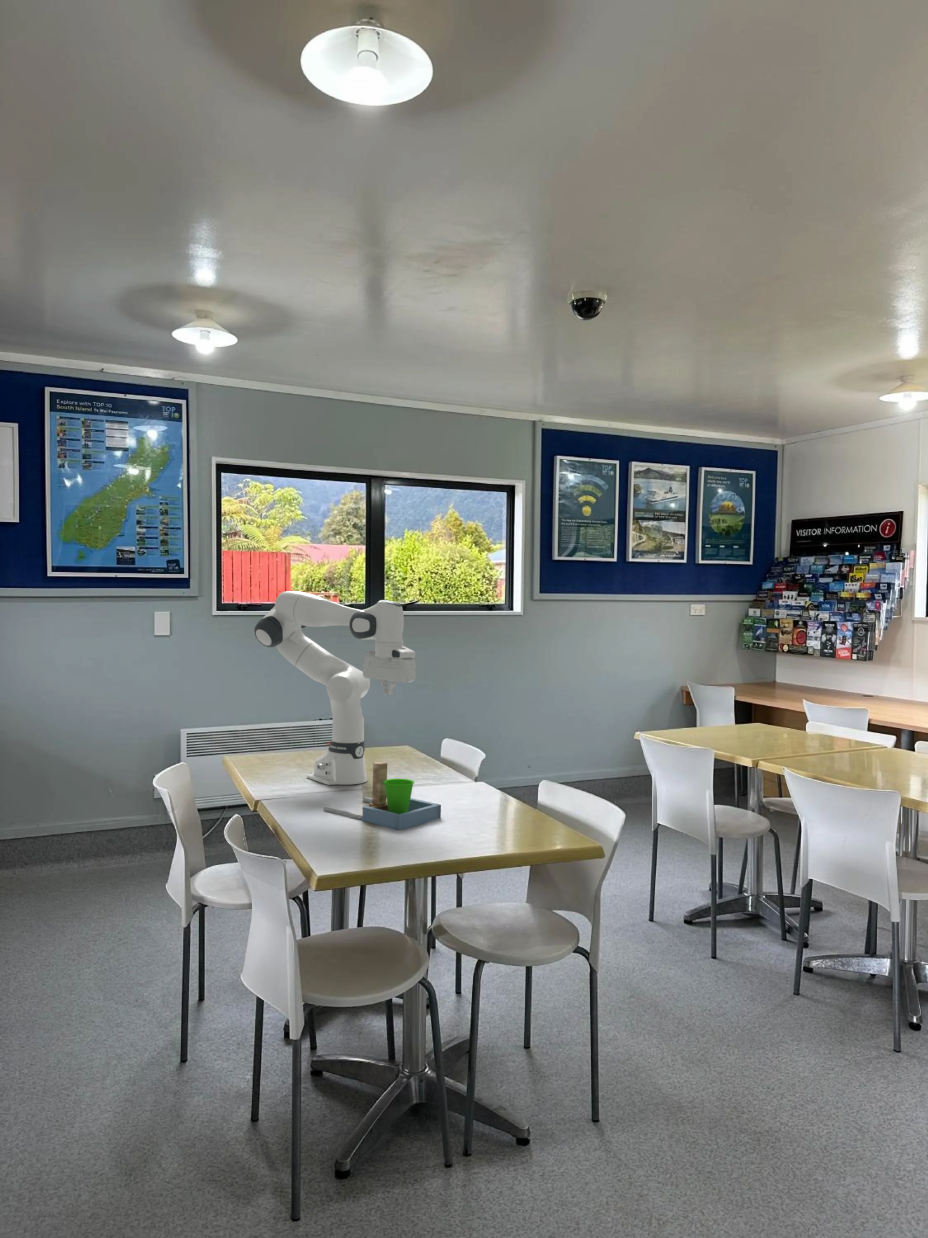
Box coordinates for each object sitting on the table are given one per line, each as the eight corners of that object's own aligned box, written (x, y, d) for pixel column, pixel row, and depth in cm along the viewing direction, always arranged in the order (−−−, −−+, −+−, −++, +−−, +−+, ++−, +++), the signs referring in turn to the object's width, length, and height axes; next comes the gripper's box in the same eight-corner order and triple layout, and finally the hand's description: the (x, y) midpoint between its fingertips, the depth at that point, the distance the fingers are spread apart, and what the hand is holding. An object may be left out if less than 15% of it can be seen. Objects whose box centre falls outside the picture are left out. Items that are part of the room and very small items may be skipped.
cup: (377, 820, 244) (377, 782, 244) (392, 813, 252) (393, 777, 252) (404, 824, 240) (405, 786, 240) (418, 817, 248) (419, 780, 248)
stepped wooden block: (361, 815, 248) (362, 765, 247) (389, 808, 257) (390, 759, 257) (373, 818, 244) (374, 767, 244) (401, 811, 254) (402, 762, 254)
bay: (362, 820, 243) (362, 807, 243) (404, 809, 257) (404, 796, 257) (399, 830, 234) (399, 816, 234) (440, 818, 248) (440, 804, 248)
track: (323, 810, 253) (323, 806, 253) (364, 800, 267) (364, 797, 267) (361, 820, 244) (361, 816, 244) (401, 809, 257) (402, 805, 257)
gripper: (358, 649, 270) (357, 692, 271) (406, 653, 258) (404, 698, 258) (372, 649, 275) (371, 691, 276) (419, 652, 263) (418, 696, 263)
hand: (388, 694), depth 267 cm, fingers closed
